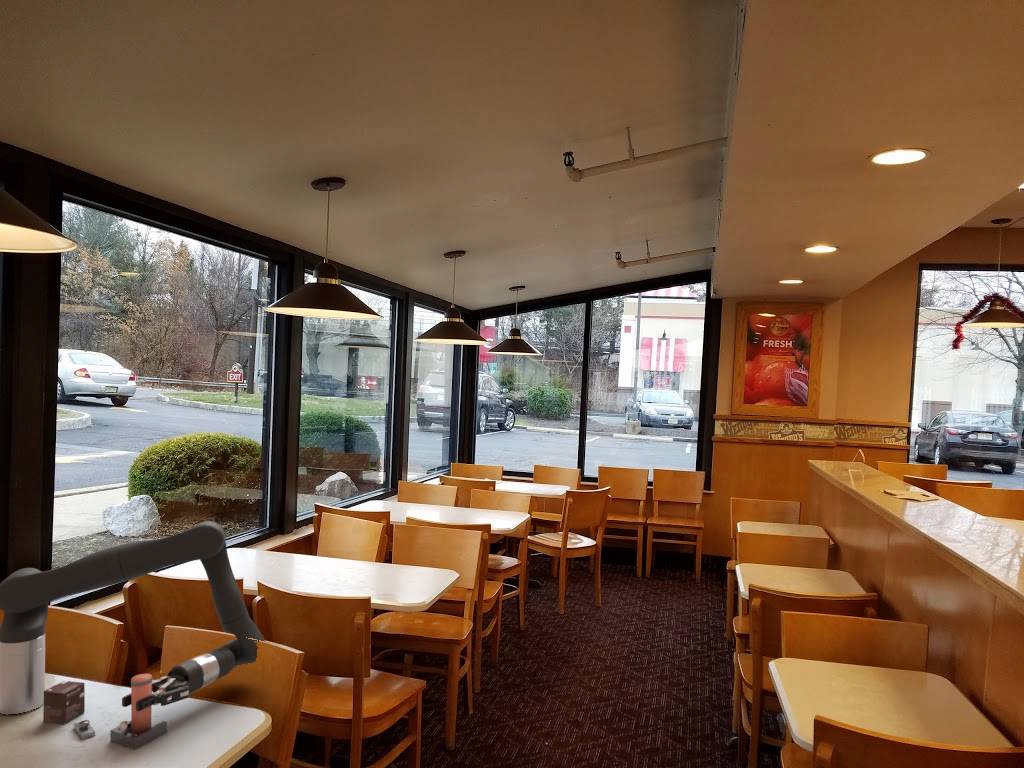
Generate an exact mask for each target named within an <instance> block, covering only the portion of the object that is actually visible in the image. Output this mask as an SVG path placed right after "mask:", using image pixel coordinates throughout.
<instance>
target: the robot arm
mask: <svg viewBox="0 0 1024 768" xmlns="http://www.w3.org/2000/svg"><path fill="white" fill-rule="evenodd" d="M193 561H200V562H201V564H202V566H203V568H204V570H205V573H206V576H207V579H208V583H209V587H210V593H211V596H212V601H213V604H214V605H213V606H214V607H215V611H216V615H217V617H218V620H219V623H220V625H221V628H222V629H223V631H224V632H225V634H231V635H233V636H235V638H234V639H235V640H233V639H231V640H229V641H228V642H226V643H224V644H222V645H221V646H219V647H218V648H215V649H213V650H211V651H209V652H205V653H204V654H200V655H197V656H195V657H193V658H192V657H191V658H190V659H187V660H185V661H183V662H181V663H179V664H176V665H174V666H173V667H172V668H171V669H170V671H169V672H168V674H167V675H164V676H162V677H161V676H160V677H158V679H152V695H149V696H147V697H145V698H142V699H140V700H138V701H137V702H136V711H141V710H143V709H145V708H148V707H150V706H151V707H152V706H158V705H159V704H160V706H161V707H164V706H167V705H171V704H173V703H177V702H180V701H183V700H186V699H188V698H189V695H190V694H194V693H195V692H197V691H199V690H201V689H203V688H205V687H207V686H209V685H210V684H212V683H213V682H215V681H218V680H220V679H221V678H222V677H224V676H226V675H228V674H229V673H231V672H232V671H233V669H235V668H237V667H238V666H237V665H240V666H243V665H242V664H245V665H248V663H250V664H254V663H253V662H255V661H256V658H257V649H258V647H257V645H256V644H257V643H255V642H254V641H257V640H258V642H259V640H261V641H265V642H266V640H265V637H264V636H263V634H262V633H261V631H260V629H259V628H258V626H257V625H256V623H255V622H254V621H253V620H252V618H251V617H250V615H249V612H248V609H247V606H246V603H245V601H244V598H243V595H242V593H241V590H240V588H239V585H238V582H237V581H236V577H235V575H234V572H233V569H232V566H231V562H230V558H229V555H228V548H227V542H226V532H225V530H224V528H223V527H222V525H220V524H219V523H218V522H216V521H211V520H206V521H205V520H204V521H201V522H199V523H197V524H196V525H195V526H193V527H191V528H188V529H186V530H183V531H181V532H178V533H175V534H172V535H169V536H165V537H162V538H157V539H156V538H155V539H148V540H140V541H132V542H126V543H123V544H119V545H114V546H111V547H108V548H103V549H101V550H98V551H95V552H92V553H91V554H88V555H86V556H83V557H81V558H79V559H76V560H74V561H71V562H70V563H68V564H65V565H62V566H61V567H56V568H52V569H50V570H45V571H41V570H40V569H38V568H34V567H24V568H20V569H18V570H16V571H14V572H13V573H11V574H10V575H8V577H5V579H4V580H2V582H0V610H1V611H3V616H2V622H1V624H0V713H1V714H0V715H2V714H17V713H22V714H24V713H23V712H26V713H28V712H27V711H29V712H32V711H34V710H33V709H35V710H36V708H37V709H39V708H40V707H42V706H43V705H44V691H45V690H46V688H45V687H46V686H45V685H46V682H45V680H46V674H45V673H46V625H47V620H48V615H49V614H48V613H49V603H51V602H54V601H56V600H59V599H62V598H65V597H67V596H72V595H77V594H81V593H85V592H86V593H87V592H90V591H94V590H97V589H98V590H99V589H102V588H106V587H110V586H113V585H117V584H120V583H124V582H128V581H130V580H134V579H136V578H141V577H143V576H146V575H149V574H151V573H153V572H156V571H159V570H161V569H164V568H167V567H170V566H174V565H178V564H184V563H188V562H193ZM246 637H247V638H246ZM236 638H237V639H236ZM248 638H253V639H257V640H252V639H248ZM255 663H256V662H255ZM236 666H237V667H236ZM42 704H43V705H42ZM41 705H42V706H41ZM121 706H122V707H124V708H127V707H129V706H131V693H129V694H126V695H125V696H123V697H122V698H121ZM38 707H39V708H38ZM31 710H32V711H31ZM17 715H18V714H17Z"/></svg>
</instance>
